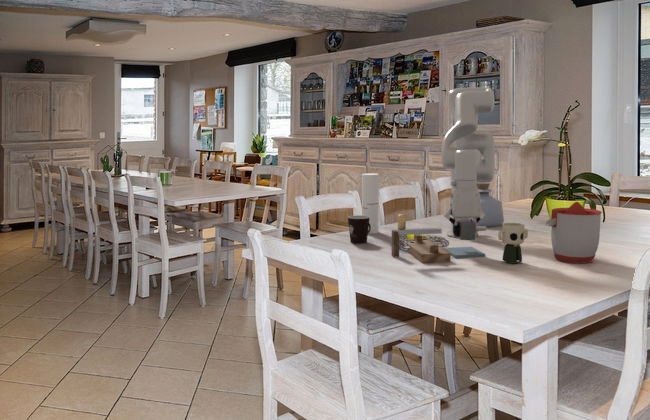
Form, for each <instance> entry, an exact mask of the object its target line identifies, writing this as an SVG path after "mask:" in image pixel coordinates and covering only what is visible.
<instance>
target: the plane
mask: <svg viewBox="0 0 650 420" xmlns="http://www.w3.org/2000/svg"><path fill="white" fill-rule="evenodd" d="M413 240H414V241H416V243H407V244H408V246H409V247H410V249H409V250H408V251H406V252H407V253H408V254H409V255H410V256H412V257H413V258H414V259H416V260H417V261H419V263H421V264H433V263H437V264H438V263H450V262H451V259H452V256H451V253H449V252H448V251H446V250H445V249H443V248H444V247H441V246H440V245H439V244H437V243H435V242H433V241H431V240H430V239H423V234H413ZM422 240H423V241H422ZM391 257H393V258H399V257H400V235H399V234H398V229H391Z"/></svg>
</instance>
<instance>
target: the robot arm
mask: <svg viewBox="0 0 650 420" xmlns="http://www.w3.org/2000/svg"><path fill="white" fill-rule="evenodd" d="M447 99H448V101H447V102H448V106H449V109H450V112H451V115H452V118H453V121H454V122H453V126H452V127H451V128H450V129H449V130H448V131H447V132H446V134H445V135H444V137H443V139H442V142H441V156H440V157H441V160H440V161H441V165H442V167H443V168H445V169H446V170H447V169H448V170H449V173H450V186H451V194H450V202H449V208H447V211H446V212H445V213H444V214H443V217H444V218H446V219H447V220H448V222H450V230H448V231H447V232H446V235H447V236H449V237H452V238H456V237H458V236H459V226H458V222H459V220H464V219H467V220H470V221H472V222H475V238H476V237H478V236H479V231H480V232H484V231H486V230H487V227H486V226H477V223H478V222H479V221H480V219H482V218H483V217H484V216H485V214H484V213H483V211H482V210H481V205H480V194H479V189H477V187H476V183H490V182H492V181H493V180H494V176H495V151H496V150H495V149H496V148H495V147H496V145H495V138H494V136H493V134H492V133H490V132H487V131H482V132H481V131H478V132H477V129H478V118H479V115H478V114H491V113H492V112H493V111H494V108H495V104H496V103H495V94H494V91H493V90H492V88H491V87H485V86H484V87H459V88H458V87H457V88H453V89H450V90H449V92H448V95H447ZM451 144H453V147H451V148H450V146H451ZM454 236H456V237H454Z"/></svg>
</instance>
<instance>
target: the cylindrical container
mask: <svg viewBox="0 0 650 420" xmlns="http://www.w3.org/2000/svg"><path fill="white" fill-rule="evenodd" d="M379 182H380V174H379V173H372V172H371V173H362V174H361V215H362V216H369V217H370V219H369V224H370V226H371V229H370V232H369V233H368V235H371V234H372V235H374V234H379V232H380V231H379V228H380V227H379V217H380V216H379V214H380V213H379V212H380V211H379V210H380V205H379V203H380V200H379V198H380V195H379V194H380V193H379V191H380V183H379ZM368 230H369V227H368Z"/></svg>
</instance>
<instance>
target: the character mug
mask: <svg viewBox="0 0 650 420" xmlns="http://www.w3.org/2000/svg"><path fill="white" fill-rule="evenodd" d="M501 225H502V226H501V227H502V229H500V230H498V235H497V237H498V240H499V241H501V242H502V243H504V244H505V246H504V247H503V253H502V261H504V262H505V263H509V264H510V263H512V264H516V263H517V262H518V263H522V262H523V256H522V255H523V254H522V253H523V252H522V247H521V245H522V244H523V243H524V241H525V239H527V238H528V237H529V233H528V232H529V230H528V228H525V223H519V222H503V223H502V224H501Z"/></svg>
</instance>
